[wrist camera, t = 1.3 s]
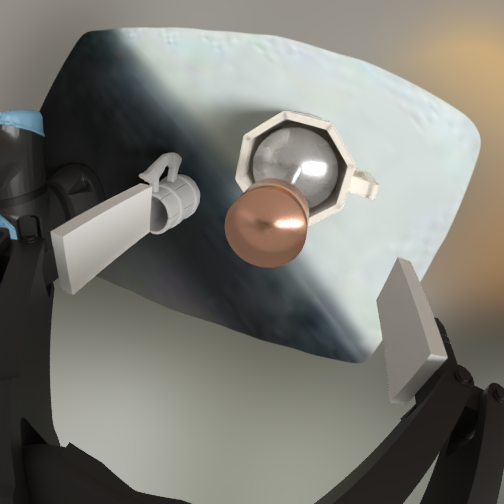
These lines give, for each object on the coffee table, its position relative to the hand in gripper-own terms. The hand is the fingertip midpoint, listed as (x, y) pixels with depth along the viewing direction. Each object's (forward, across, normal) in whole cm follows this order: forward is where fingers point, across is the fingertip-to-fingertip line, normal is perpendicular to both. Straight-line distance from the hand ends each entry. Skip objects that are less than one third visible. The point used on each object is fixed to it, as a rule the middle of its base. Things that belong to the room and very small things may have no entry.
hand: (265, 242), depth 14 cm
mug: (+30, -19, -9) cm, 37 cm away
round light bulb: (+19, 0, 0) cm, 19 cm away
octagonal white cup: (+30, +1, 0) cm, 30 cm away
